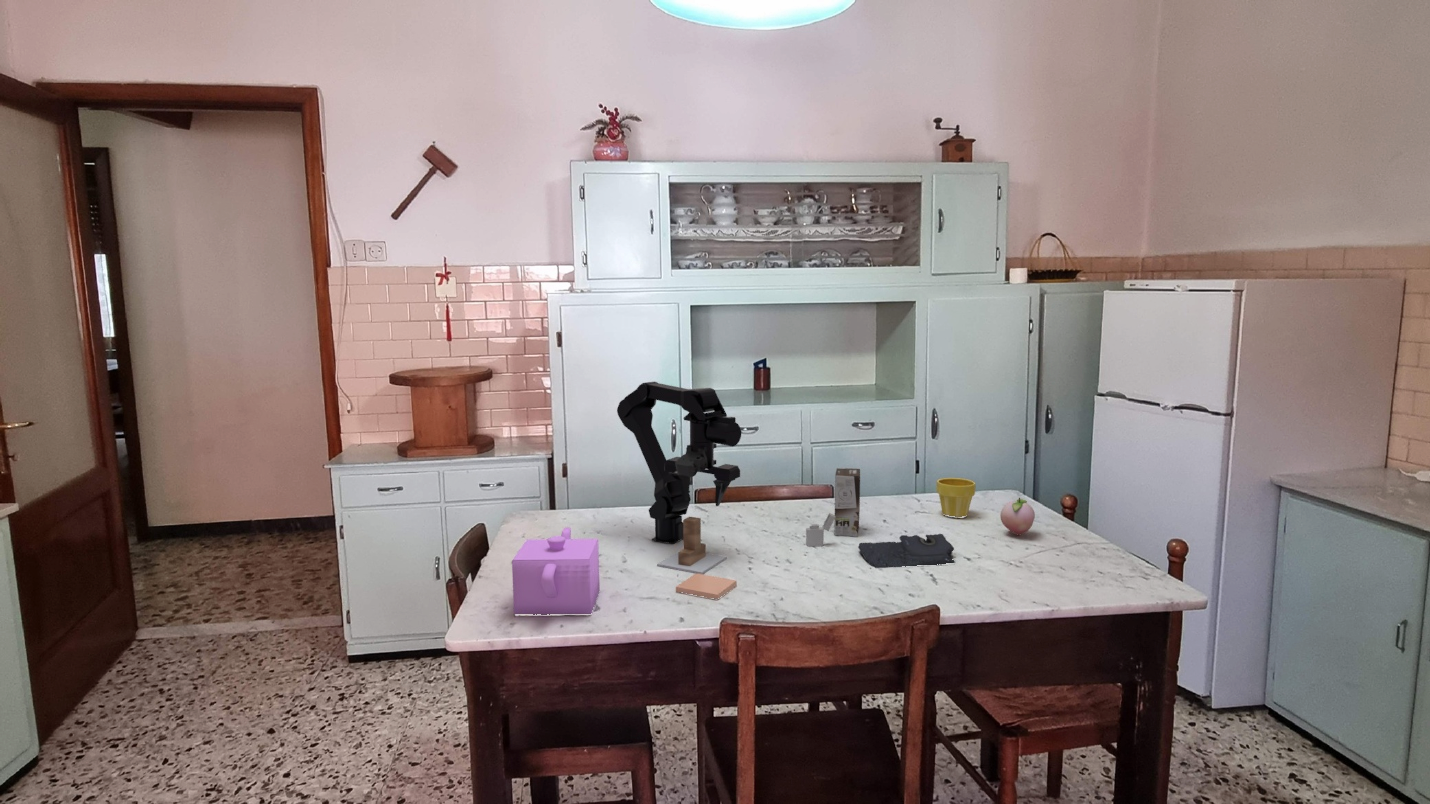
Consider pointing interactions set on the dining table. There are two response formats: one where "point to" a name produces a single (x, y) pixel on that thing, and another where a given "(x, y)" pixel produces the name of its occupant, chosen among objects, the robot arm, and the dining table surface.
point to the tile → (706, 586)
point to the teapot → (556, 575)
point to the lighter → (818, 532)
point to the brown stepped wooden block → (691, 542)
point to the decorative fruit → (1017, 516)
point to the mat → (697, 567)
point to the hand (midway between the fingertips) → (701, 502)
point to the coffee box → (847, 502)
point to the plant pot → (955, 495)
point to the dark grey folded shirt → (908, 551)
